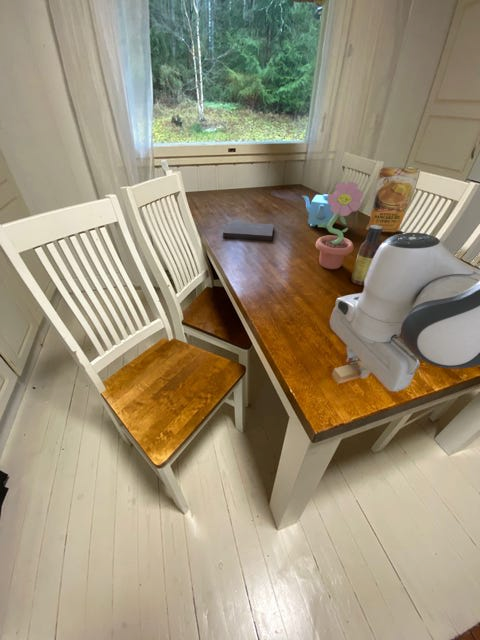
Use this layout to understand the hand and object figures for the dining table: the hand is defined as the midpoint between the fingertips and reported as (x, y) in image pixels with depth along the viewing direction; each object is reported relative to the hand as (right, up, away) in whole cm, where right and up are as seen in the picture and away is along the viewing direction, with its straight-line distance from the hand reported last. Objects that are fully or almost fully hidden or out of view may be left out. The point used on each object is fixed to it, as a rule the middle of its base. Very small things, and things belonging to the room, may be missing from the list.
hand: (356, 369), depth 59 cm
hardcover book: (-21, +53, +75) cm, 94 cm away
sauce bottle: (+18, +24, +39) cm, 50 cm away
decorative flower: (+10, +33, +49) cm, 60 cm away
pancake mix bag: (+47, +57, +80) cm, 109 cm away
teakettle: (+17, +61, +85) cm, 106 cm away
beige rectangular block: (0, -1, +1) cm, 2 cm away
